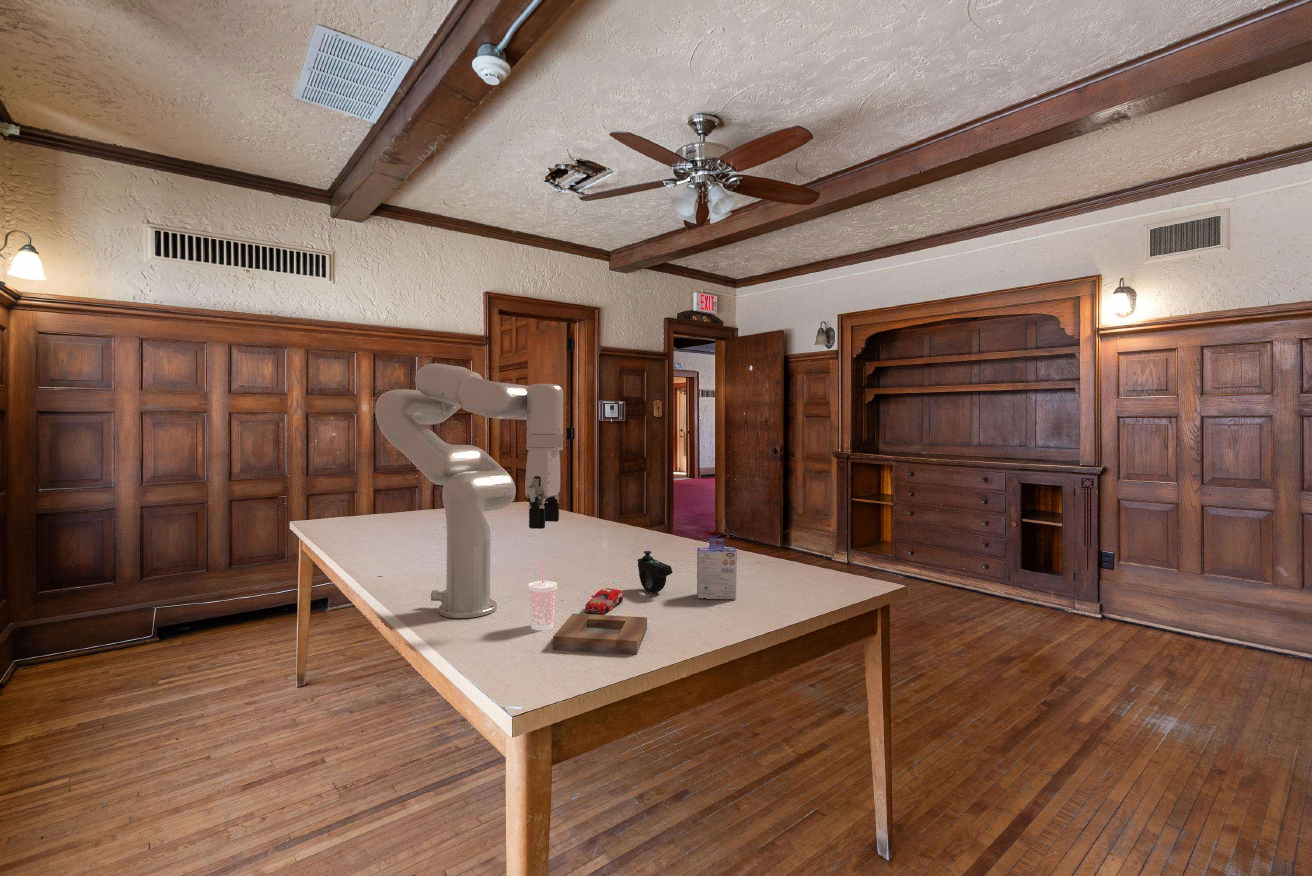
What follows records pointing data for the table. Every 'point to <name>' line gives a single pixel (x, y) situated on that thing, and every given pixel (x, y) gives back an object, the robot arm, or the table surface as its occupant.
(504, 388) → the robot arm
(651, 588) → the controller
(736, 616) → the table surface
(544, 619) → the beverage cup
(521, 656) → the table surface
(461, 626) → the table surface
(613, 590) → the race car
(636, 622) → the brown wooden square frame
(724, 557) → the ink cartridge box
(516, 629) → the table surface
